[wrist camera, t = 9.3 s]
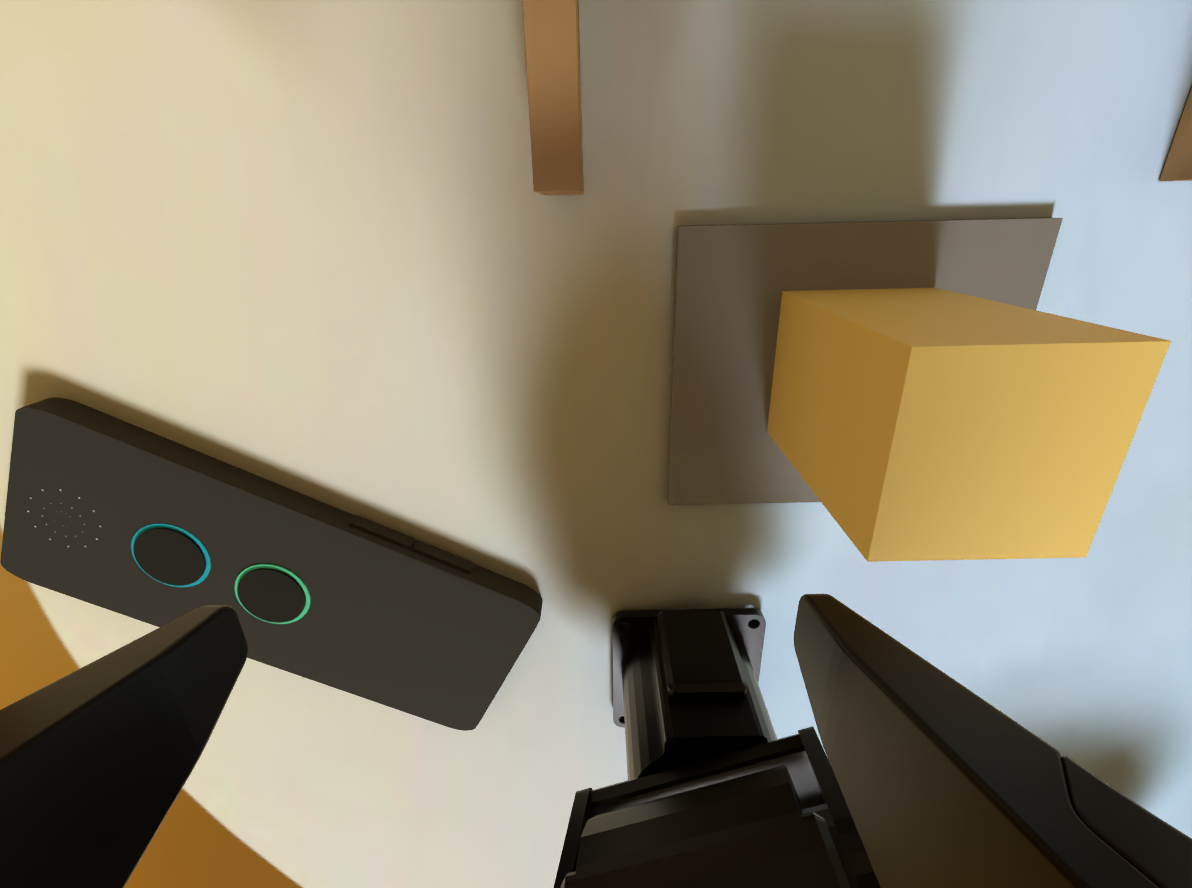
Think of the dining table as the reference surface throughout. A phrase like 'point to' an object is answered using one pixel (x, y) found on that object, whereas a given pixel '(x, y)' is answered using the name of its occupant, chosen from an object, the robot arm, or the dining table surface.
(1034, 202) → the dining table surface
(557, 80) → the wooden u-shaped frame
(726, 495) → the gray panel
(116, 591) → the smart home device
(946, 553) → the mustard block
